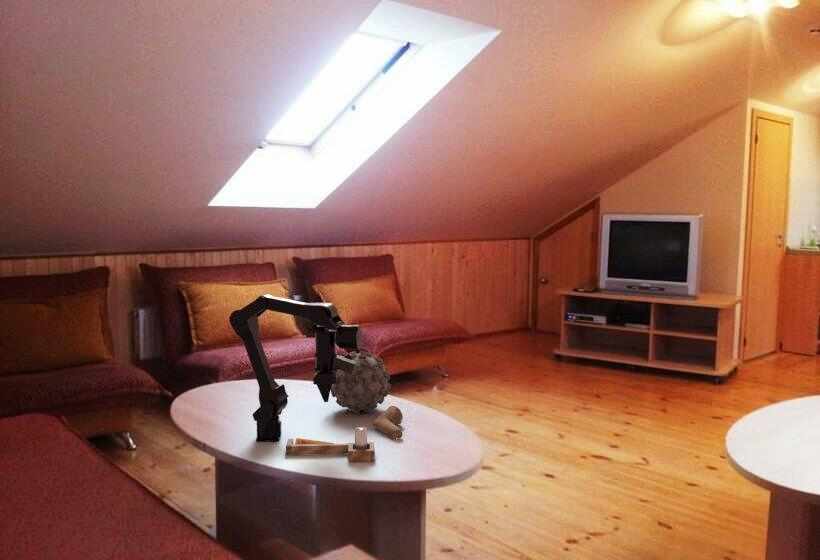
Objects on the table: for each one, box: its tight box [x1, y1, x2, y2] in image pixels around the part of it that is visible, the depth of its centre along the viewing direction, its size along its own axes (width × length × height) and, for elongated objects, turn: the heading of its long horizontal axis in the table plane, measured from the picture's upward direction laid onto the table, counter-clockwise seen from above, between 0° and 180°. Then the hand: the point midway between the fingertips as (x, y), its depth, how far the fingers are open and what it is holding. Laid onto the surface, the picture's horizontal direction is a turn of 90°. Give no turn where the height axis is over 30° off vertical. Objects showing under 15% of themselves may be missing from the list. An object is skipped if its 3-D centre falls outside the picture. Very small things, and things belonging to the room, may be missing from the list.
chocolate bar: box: [294, 438, 335, 444], centre depth 201 cm, size 3×12×2 cm, turn 69°
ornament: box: [330, 350, 391, 414], centre depth 237 cm, size 20×20×20 cm
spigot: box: [354, 426, 368, 450], centre depth 192 cm, size 3×3×8 cm
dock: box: [285, 438, 376, 463], centre depth 195 cm, size 24×13×3 cm, turn 95°
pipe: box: [371, 405, 404, 440], centre depth 216 cm, size 6×17×10 cm
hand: (326, 401), depth 203 cm, fingers closed
